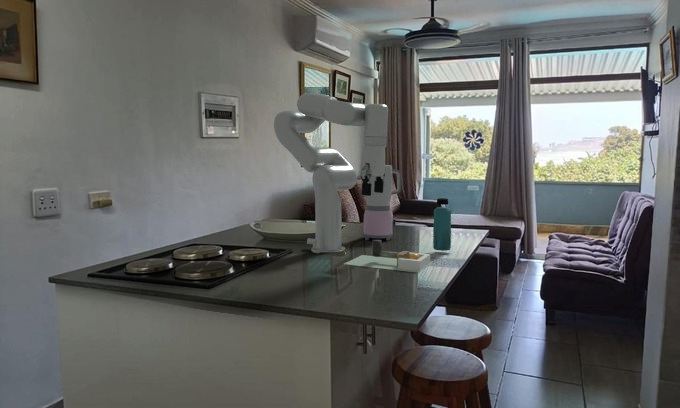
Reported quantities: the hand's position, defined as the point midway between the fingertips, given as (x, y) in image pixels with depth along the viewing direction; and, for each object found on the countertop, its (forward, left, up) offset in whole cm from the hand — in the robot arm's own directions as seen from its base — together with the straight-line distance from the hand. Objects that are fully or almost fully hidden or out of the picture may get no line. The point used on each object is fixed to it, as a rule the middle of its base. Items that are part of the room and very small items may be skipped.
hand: (372, 193), depth 168 cm
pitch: (+8, -5, -23) cm, 24 cm away
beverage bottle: (+18, +23, -23) cm, 37 cm away
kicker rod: (+8, -5, -21) cm, 23 cm away
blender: (-12, +40, -23) cm, 48 cm away
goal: (+17, -5, -22) cm, 28 cm away
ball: (+16, -5, -20) cm, 26 cm away
